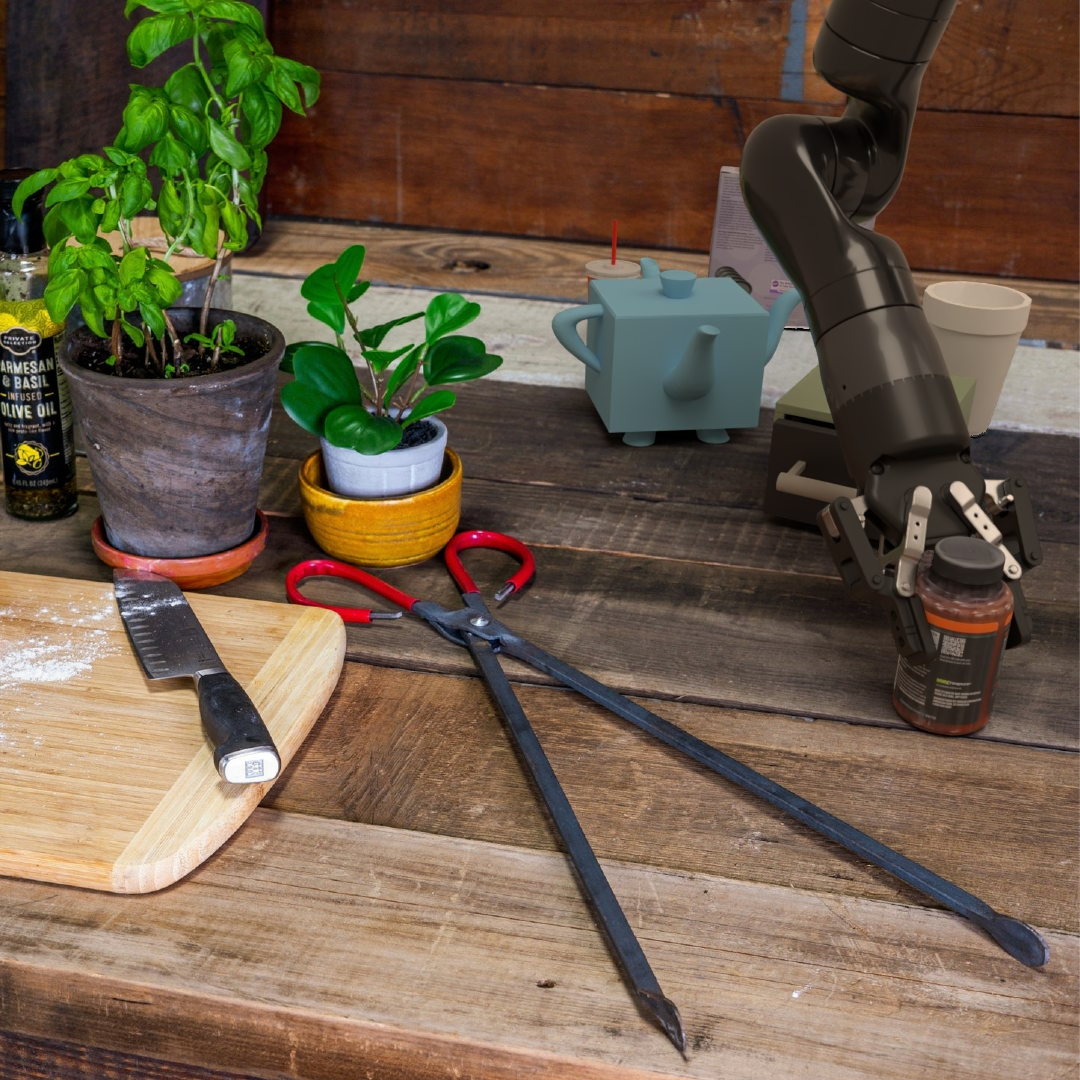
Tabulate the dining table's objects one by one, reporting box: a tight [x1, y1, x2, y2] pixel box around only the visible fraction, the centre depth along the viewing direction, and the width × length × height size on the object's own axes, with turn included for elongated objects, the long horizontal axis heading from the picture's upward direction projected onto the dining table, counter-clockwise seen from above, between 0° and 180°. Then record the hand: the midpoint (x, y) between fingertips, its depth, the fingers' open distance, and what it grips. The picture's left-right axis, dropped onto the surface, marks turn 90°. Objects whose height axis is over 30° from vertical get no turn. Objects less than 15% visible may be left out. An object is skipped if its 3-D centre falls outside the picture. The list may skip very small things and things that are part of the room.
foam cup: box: [921, 280, 1033, 436], centre depth 119 cm, size 10×9×13 cm
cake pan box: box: [707, 165, 877, 327], centre depth 146 cm, size 19×5×18 cm, turn 80°
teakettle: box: [551, 256, 801, 447], centre depth 117 cm, size 19×19×15 cm
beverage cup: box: [584, 219, 642, 298], centre depth 138 cm, size 6×6×14 cm
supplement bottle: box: [892, 536, 1014, 736], centre depth 75 cm, size 6×6×11 cm
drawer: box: [762, 416, 881, 542], centre depth 100 cm, size 18×11×8 cm, turn 151°
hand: (971, 653), depth 74 cm, fingers closed on supplement bottle, 6 cm apart
